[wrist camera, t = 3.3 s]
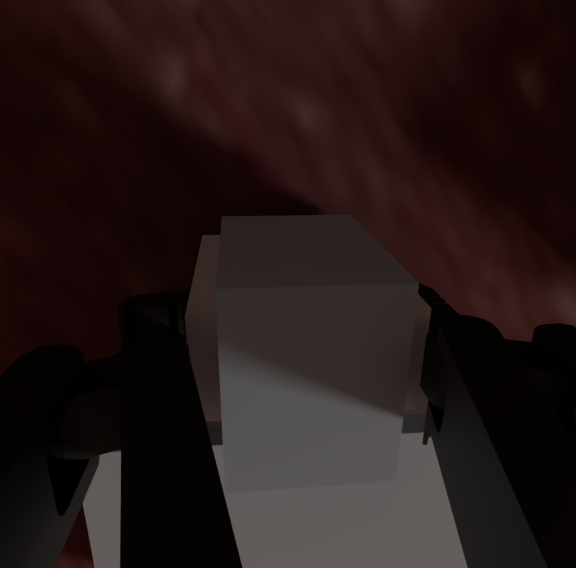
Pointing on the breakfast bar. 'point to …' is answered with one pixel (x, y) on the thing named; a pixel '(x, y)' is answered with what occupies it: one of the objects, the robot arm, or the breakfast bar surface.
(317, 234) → the grey tabbed block
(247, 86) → the breakfast bar surface
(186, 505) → the robot arm
